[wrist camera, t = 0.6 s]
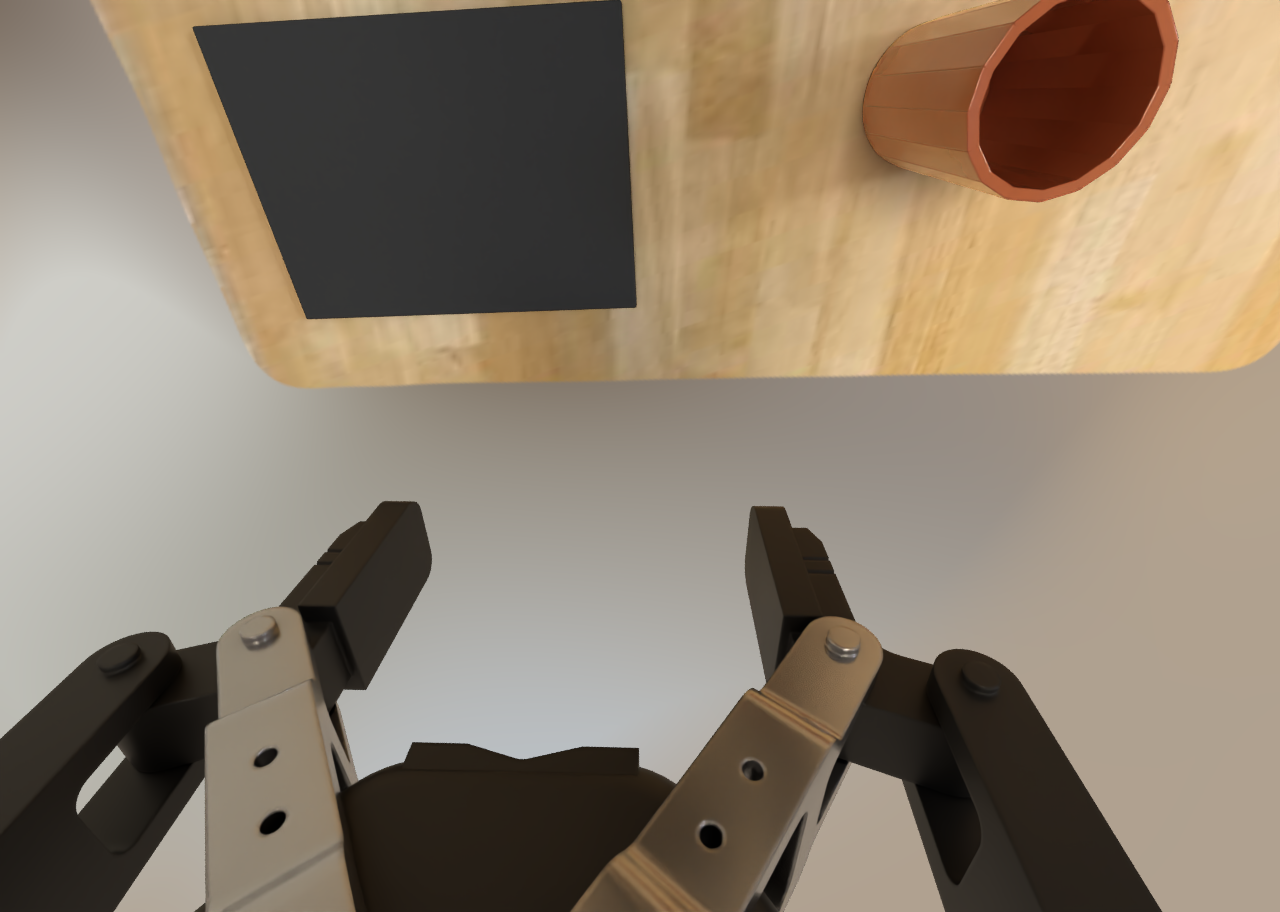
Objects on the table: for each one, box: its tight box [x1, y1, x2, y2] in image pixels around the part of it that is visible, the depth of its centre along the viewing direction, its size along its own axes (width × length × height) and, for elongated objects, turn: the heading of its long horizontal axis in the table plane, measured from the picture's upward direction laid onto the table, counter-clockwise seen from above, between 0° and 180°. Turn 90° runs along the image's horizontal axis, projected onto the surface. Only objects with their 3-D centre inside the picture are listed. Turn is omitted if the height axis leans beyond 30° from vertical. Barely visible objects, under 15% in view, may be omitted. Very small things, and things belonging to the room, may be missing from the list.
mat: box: [193, 0, 637, 319], centre depth 29 cm, size 20×14×1 cm
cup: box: [863, 0, 1178, 202], centre depth 22 cm, size 6×6×11 cm
